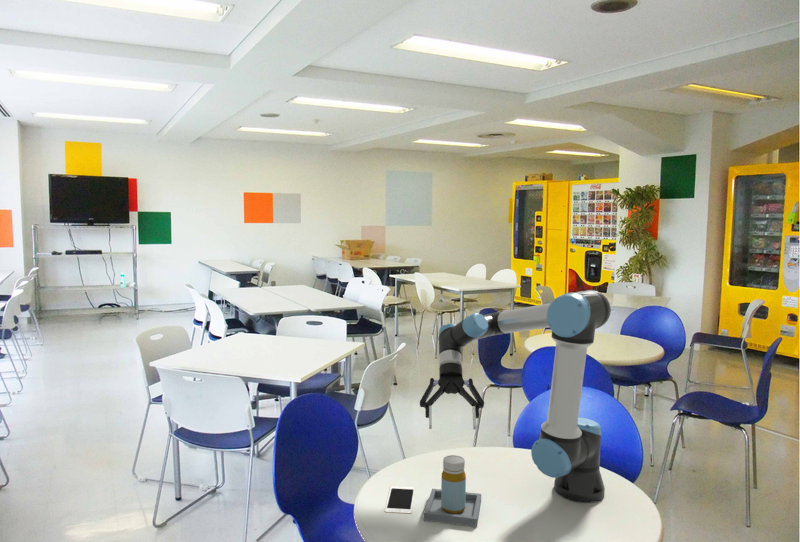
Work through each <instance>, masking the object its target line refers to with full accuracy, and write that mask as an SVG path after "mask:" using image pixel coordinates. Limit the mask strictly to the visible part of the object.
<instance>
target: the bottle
mask: <svg viewBox="0 0 800 542" xmlns="http://www.w3.org/2000/svg"><path fill="white" fill-rule="evenodd" d="M465 462H466V461H465V458H464V457H462V456H460V455H454V454H451V455H446V456H444V457H443V461H442V467H443V468H442V469H443V470H442V472H441V488H440V490H441V507H442V509H443V510H444V511H445V512H447V513H449V514H459V513H461V512H463V511H464V510H465V500H466V491H467V488H466V487H467V475H466V472H465V467H466V466H465V465H466V464H465Z"/></svg>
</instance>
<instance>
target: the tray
mask: <svg viewBox="0 0 800 542" xmlns="http://www.w3.org/2000/svg"><path fill="white" fill-rule="evenodd" d="M430 491H431V492H430V494H429V497H428V499H427V503H426V506H425V508H424V511H423V522H429V523H438V524H445V525H446V524H447V525H453V526H462V527H463V526H464V527H471V528H472V527H473V528H478V522H479V519H480V518H479V517H480V511H481V505H482V493H477V492H476V493H475V492H468V491H467V492H466V500H465V510H464V511H463V512H461V513H459V514H449V513H447V512H445V511H444V510H443V509H442V507H441V488H440V489H439V488H432V489H431V490H430Z"/></svg>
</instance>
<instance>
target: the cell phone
mask: <svg viewBox="0 0 800 542" xmlns="http://www.w3.org/2000/svg"><path fill="white" fill-rule="evenodd" d="M415 491H416V487H413V486H412V487H411V486H396V485H395V486H393V485H391V486H390V488H389V492H388V495H387V501H386V503H385V508H384V513H387V512H390V513H389V514H404V515H405V514H408V515H411V514H412V512H413V511H412V510H413V504H414V498H415Z"/></svg>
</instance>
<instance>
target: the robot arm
mask: <svg viewBox="0 0 800 542" xmlns="http://www.w3.org/2000/svg"><path fill="white" fill-rule="evenodd" d="M611 308H612V307H611V303H610V301H609V300H608V298H607V297H606V296H605V294H603V293H602V292H600V291H597V290H595V289H594V290H593V289H585V290H580V291H575V292H566V293H563V294H561V295H558V296H557V297H556V298H554V299H553V300H552V301H551V302H549V303H544V304H538V305H533V306H526V307H521V308H520V307H519V308H516V309H508V310H504V311H499V312H497V311H496V312H491V313H487V314H482V313H478V312H473V313H471V314H470V315H468V316H466V317H465V318H464V319H461V321H459V322H458V323H456V324H455V323H446V324H443V325H441V326H440V328H439V330H438V338H437V339H438V354H439V355H438V358H439V360H438V361H439V362H438V365H439V368H438V369H439V373H438V374H439V378H438V379H434V377H431V378H430V379H429V384H428V386H427V388H426V389H425V391H424V393H423V395H422V396H421V399H420V401H419V407H420V408H424V409H425V414H424V415H425V419H428V422H429V423H428V429H429V430H432V429H433V428H432V427H433V426H432V423H433V422H432V421H433V419H432V418H433V416H432V414H433V413H432V409H433V408H432V407H433V406H432V405H433V404H434V403H436V401H437V400H438V399H439V398H440V397H441V396H443V394H448V395H451V394H453V395H456V394H459V395H460V396H462V397H463V399H464V400H465V401H466V402H467V403H468V404H469V405H470V406H471V407H472V409H471V410H472V411H471V413H472V414H471V415H472V429H473V431H474V430H477V419H479V418H480V409H483V408H484V407H485V401H484V400H483V398H482V396H481V394H480V393H479V390H478V389H477V388H476V387H475V385H474V382H473V379H472V378H471V377H470V378H468V379H466V380H464V379H463V378H464V377H463V360H462V357H463V355H462V348H464V347H465V346H467V345H468V344H470V343H472V342H474V341H476V340H481V339H484V338H488V337H492V336H498V335H503V334H505V335H506V334H511V333H518V332H519V333H520V332H526V331H534V330H542V329H545V328H546V329H548V328H550V330H551V338H552V340H553V341H554V342H555V351H554V359H553V360H554V361H553V368H552V376H551V385H550V392H549V400H548V401H549V403H548V409H547V418H546V420H545V421H543V422H542V423H541V425H540V431H539V432H540V433H539V439H537V440H535V442H534V443H533V444H532V446H531V449H530V450H531V451H530V452H531V459H532V461H533V463H534V465H535V466H536V467H537V469H538V471H540V473H542V474H543V475H545V476H547V477H549V478H552V479H554V478H555V479H554V482H553V484H554V485H553V486H554V488H553V489H554V491H555V493H556V494H557V495H559V496H561V497H562V498H564V499H566V500H569V501H573V502H577V503H586V504H587V503H595V502H599V501H601V500H603V499H604V497H605V493H606V492H605V489H606V488H605V484H604V480H603V477H602V474H601V471H600V464H601V463H600V462H601V446H602V445H601V443H602V428H601V425H600V423H598V422H596V420H592V419H590V418H585V417H582V416H581V417H579V415H580V408H581V407H580V406H581V400H582V391H583V384H584V383H583V382H584V376H585V375H584V374H585V368H586V361H587V360H586V359H587V353H588V347H590V346H591V345H594V341H595V336H596V329H599V328H601V327H603V326H604V325H605V324H606V323H607V322H608V320H609V319H610V317H611V313H612V312H611V311H612V309H611ZM437 385H438V386H439V388H438V389H437V390H436V391H435V393H433V395H432V396H431V394H432V391H433V389H434V388H435V387H437ZM464 386H466V387H467V388H468V389H469V391H470V392H471V395H470V394H469V393H468V391H467V390H466V389H465V387H464ZM430 396H431V397H430ZM472 396H473V397H472Z"/></svg>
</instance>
